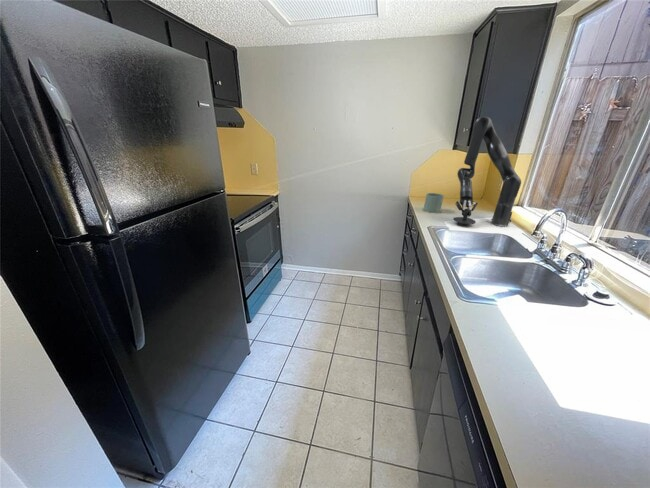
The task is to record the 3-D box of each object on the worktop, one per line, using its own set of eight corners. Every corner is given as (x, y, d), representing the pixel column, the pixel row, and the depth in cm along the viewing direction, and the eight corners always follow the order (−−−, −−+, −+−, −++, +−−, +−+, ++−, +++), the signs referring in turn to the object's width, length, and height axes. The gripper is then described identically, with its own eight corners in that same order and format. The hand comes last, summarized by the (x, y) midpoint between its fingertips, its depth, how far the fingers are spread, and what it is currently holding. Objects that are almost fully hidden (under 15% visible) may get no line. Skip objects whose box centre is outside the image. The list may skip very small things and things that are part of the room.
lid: (469, 218, 178) (472, 206, 175) (479, 225, 166) (482, 212, 163) (450, 218, 179) (452, 206, 175) (458, 224, 167) (461, 211, 163)
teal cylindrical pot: (437, 208, 209) (440, 193, 204) (442, 213, 198) (446, 197, 193) (421, 207, 210) (424, 192, 205) (426, 212, 199) (429, 196, 193)
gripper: (456, 189, 173) (457, 212, 167) (479, 190, 170) (480, 214, 164) (453, 195, 179) (453, 217, 174) (475, 197, 177) (476, 219, 171)
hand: (466, 215), depth 169 cm, fingers closed on lid, 2 cm apart
